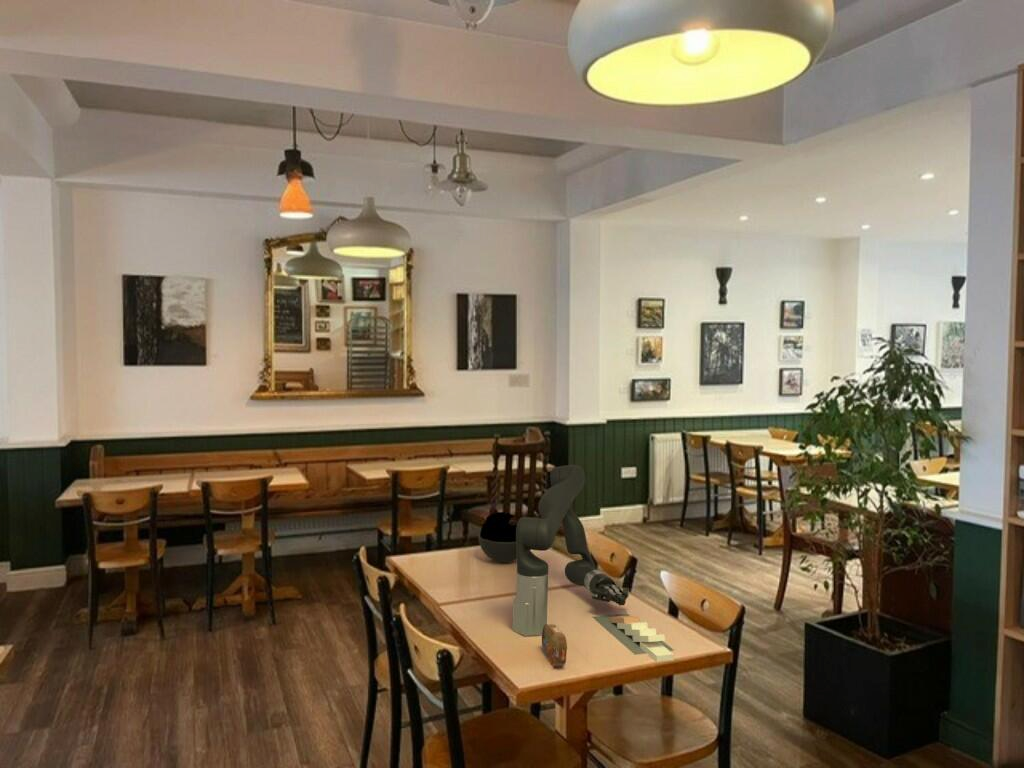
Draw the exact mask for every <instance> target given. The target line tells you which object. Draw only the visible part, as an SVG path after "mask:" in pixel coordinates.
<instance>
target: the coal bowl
mask: <svg viewBox="0 0 1024 768" xmlns="http://www.w3.org/2000/svg"><path fill="white" fill-rule="evenodd" d="M514 517H515V515H514V514H511V513H510V512H506V513H505V512H504V511H497V512H493V513H491V514H490V515H488V516H487V517H486V519H485V522H484V523H482V527H481V528H480V534H478V537H477V538H478V542H479V543H478V544H479V545H480V546H479V547H480V548H481V550H482V552H483V553H484V554H485V556H486V557H488V558H489V559H491V560H492V561H495V562H497V563H503V564H504V563H512V562H514V561H516V557H517V552H516V527H517V524H516V525H515V524H514V525H513V524H511V523H509V522H510V520H511V519H513V518H514Z"/></svg>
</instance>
